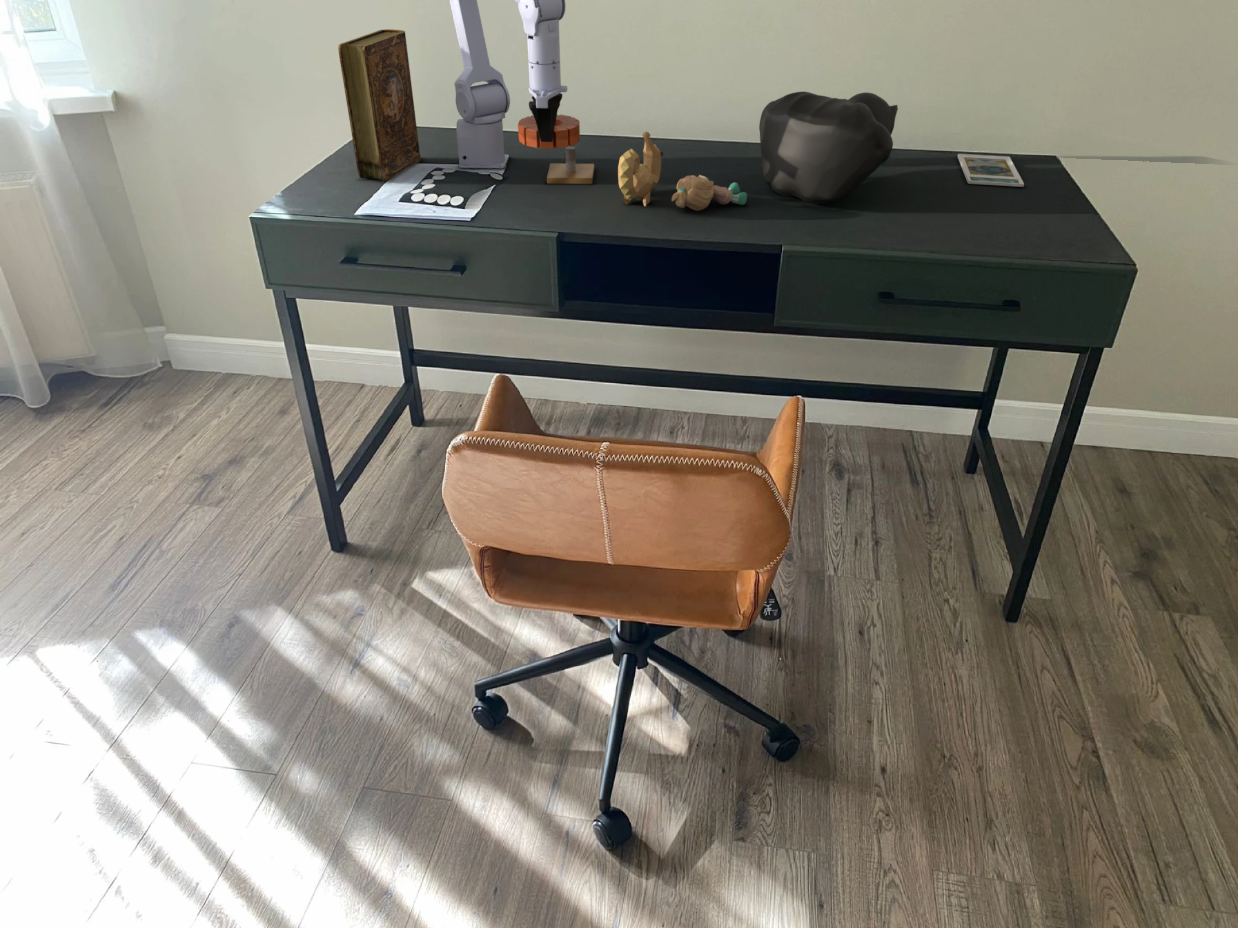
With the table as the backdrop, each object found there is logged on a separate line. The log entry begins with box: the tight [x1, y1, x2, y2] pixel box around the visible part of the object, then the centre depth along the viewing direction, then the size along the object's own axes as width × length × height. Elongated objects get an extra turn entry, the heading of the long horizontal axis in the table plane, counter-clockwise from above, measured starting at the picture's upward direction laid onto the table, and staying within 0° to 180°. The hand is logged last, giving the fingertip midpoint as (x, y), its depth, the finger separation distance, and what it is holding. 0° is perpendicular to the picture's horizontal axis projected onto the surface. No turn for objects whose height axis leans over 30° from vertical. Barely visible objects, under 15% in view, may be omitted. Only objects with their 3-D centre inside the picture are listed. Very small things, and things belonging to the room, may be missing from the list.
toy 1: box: [617, 131, 664, 207], centre depth 168 cm, size 5×12×20 cm
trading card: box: [957, 153, 1025, 188], centre depth 186 cm, size 11×1×18 cm
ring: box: [517, 113, 581, 150], centre depth 174 cm, size 12×12×3 cm
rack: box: [546, 146, 595, 185], centre depth 181 cm, size 9×9×6 cm
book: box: [337, 28, 421, 182], centre depth 179 cm, size 16×6×25 cm, turn 161°
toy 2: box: [671, 174, 748, 212], centre depth 168 cm, size 8×7×15 cm
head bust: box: [758, 91, 899, 205], centre depth 174 cm, size 28×20×30 cm
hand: (547, 138), depth 171 cm, fingers closed on ring, 3 cm apart
